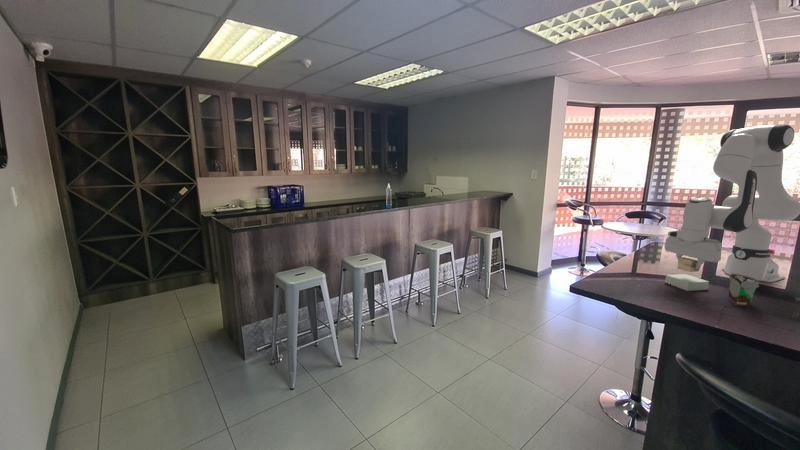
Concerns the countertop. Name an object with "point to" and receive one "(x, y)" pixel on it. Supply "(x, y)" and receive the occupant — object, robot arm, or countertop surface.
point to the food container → (742, 289)
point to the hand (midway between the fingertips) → (688, 266)
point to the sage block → (687, 282)
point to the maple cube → (687, 264)
